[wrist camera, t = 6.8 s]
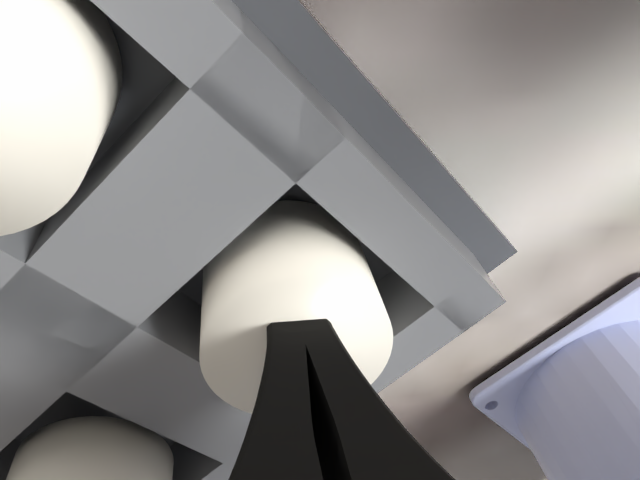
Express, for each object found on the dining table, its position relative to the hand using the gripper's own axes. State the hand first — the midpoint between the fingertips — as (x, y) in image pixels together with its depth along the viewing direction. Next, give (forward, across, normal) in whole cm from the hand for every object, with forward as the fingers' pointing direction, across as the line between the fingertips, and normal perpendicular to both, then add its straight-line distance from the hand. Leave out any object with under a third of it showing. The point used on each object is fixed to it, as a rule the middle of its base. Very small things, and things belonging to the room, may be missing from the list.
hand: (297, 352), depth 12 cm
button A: (+3, 0, 0) cm, 3 cm away
